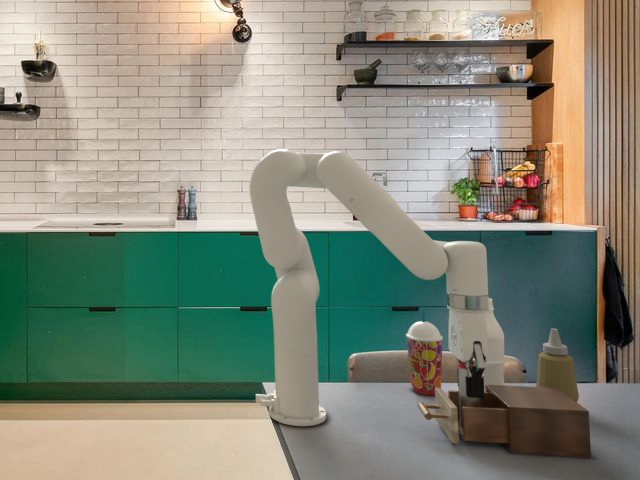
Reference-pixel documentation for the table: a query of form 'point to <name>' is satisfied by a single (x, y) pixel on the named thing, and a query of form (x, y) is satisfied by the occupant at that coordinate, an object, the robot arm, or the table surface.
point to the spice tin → (463, 399)
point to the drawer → (469, 418)
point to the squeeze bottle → (557, 367)
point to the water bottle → (494, 350)
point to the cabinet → (544, 421)
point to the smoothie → (424, 356)
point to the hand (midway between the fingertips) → (470, 391)
